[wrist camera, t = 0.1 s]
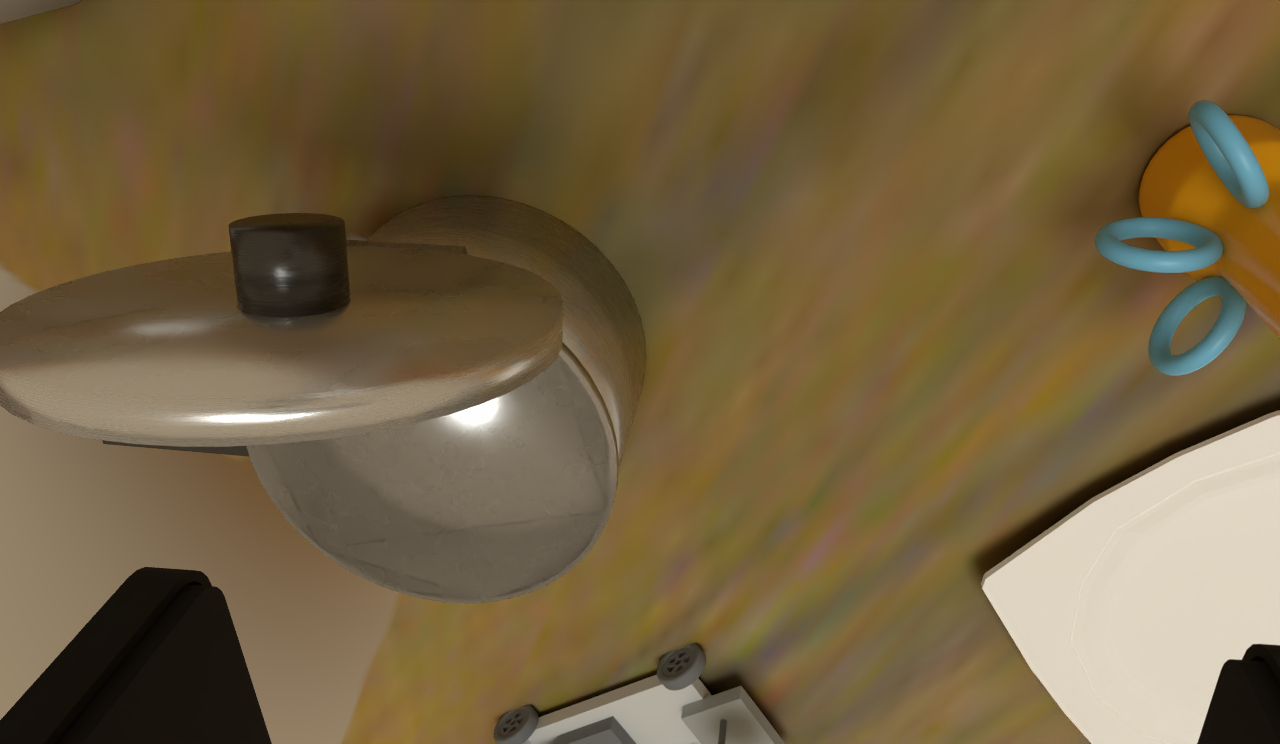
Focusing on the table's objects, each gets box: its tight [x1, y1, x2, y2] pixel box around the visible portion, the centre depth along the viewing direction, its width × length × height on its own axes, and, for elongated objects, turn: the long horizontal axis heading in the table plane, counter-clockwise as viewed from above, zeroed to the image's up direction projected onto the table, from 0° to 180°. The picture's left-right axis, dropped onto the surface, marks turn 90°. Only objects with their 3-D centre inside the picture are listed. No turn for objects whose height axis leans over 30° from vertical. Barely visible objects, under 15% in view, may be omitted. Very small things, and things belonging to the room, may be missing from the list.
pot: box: [102, 196, 646, 603], centre depth 47 cm, size 16×24×10 cm
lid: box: [0, 213, 563, 447], centre depth 30 cm, size 17×16×4 cm
